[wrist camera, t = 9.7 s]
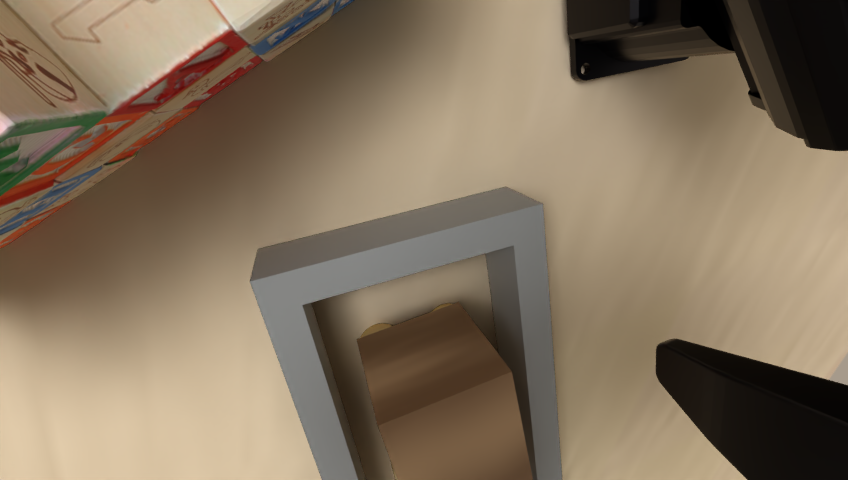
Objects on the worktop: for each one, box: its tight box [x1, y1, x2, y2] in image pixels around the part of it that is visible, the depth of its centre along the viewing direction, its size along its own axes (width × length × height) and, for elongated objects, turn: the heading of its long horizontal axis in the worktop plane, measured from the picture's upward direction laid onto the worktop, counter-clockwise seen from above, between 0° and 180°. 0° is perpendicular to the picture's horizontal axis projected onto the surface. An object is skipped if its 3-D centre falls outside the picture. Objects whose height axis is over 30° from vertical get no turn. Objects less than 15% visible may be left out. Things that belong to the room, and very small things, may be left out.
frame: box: [250, 187, 562, 480], centre depth 22 cm, size 12×21×4 cm, turn 10°
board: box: [357, 302, 533, 480], centre depth 20 cm, size 12×5×6 cm, turn 14°
